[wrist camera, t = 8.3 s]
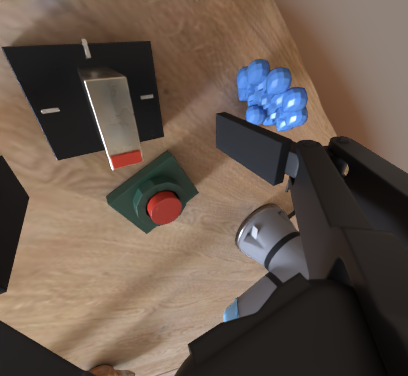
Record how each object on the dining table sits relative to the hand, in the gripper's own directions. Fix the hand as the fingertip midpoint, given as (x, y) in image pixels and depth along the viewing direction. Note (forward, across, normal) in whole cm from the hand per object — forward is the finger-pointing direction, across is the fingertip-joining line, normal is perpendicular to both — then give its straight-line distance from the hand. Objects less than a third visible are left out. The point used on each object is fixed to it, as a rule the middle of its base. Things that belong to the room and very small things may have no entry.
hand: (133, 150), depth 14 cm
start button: (+10, +4, -14) cm, 17 cm away
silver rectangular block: (+11, 0, +1) cm, 11 cm away
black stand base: (+14, 0, +1) cm, 14 cm away
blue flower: (+14, +19, -1) cm, 24 cm away
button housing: (+14, +4, -14) cm, 20 cm away
